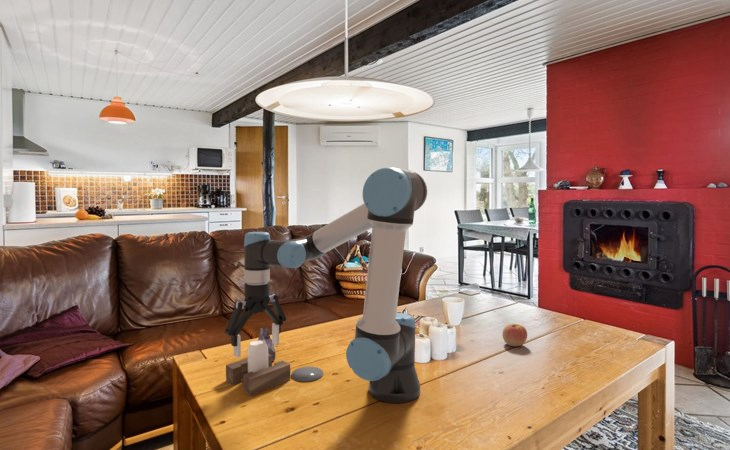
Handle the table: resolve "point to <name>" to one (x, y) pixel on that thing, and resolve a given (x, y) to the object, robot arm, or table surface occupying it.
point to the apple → (514, 334)
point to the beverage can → (257, 356)
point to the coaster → (307, 374)
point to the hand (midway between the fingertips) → (257, 349)
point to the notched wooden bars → (257, 375)
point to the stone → (267, 341)
